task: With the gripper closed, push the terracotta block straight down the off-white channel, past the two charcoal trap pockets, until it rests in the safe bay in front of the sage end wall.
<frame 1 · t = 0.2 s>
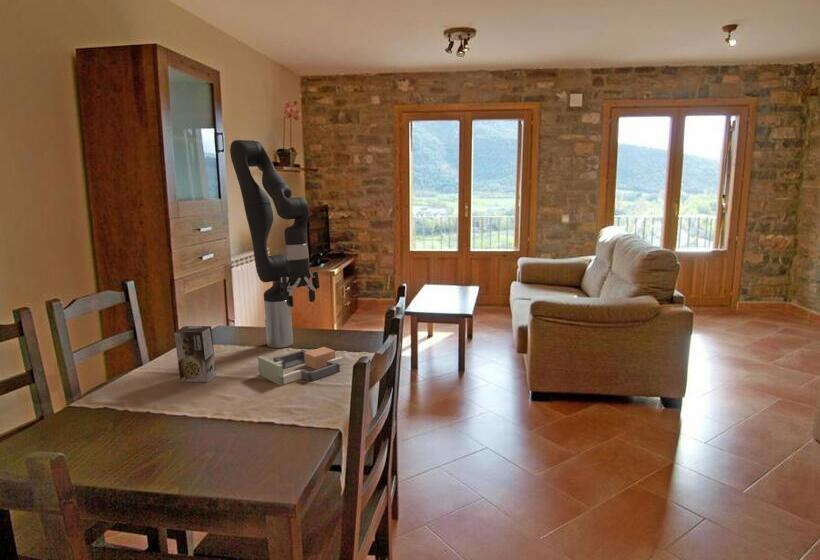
hand: (301, 304, 183), 18 cm above the table, tool pointing down, fingers open, 8 cm apart
coffee box: (198, 379, 165), on the table
terracotta block: (320, 364, 175), on the table
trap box: (304, 368, 171), on the table
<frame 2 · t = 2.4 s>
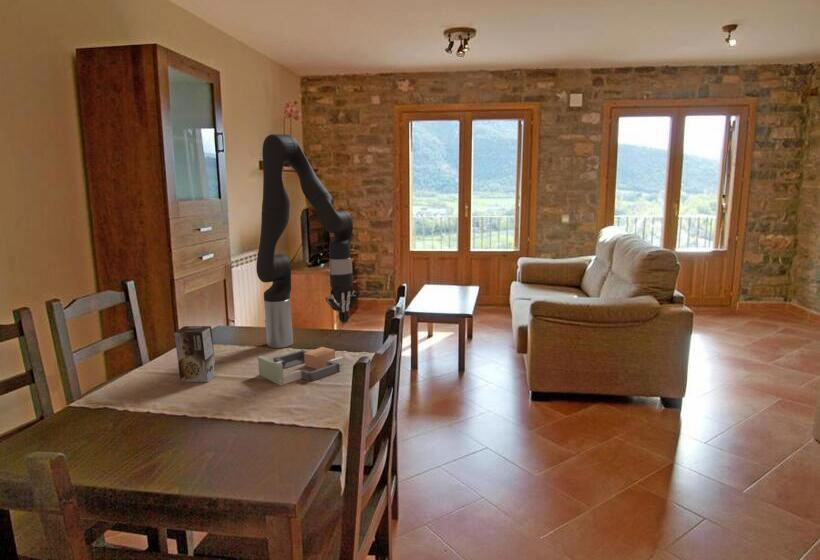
hand: (344, 321, 180), 12 cm above the table, tool pointing down, fingers closed
nothing on the table moved.
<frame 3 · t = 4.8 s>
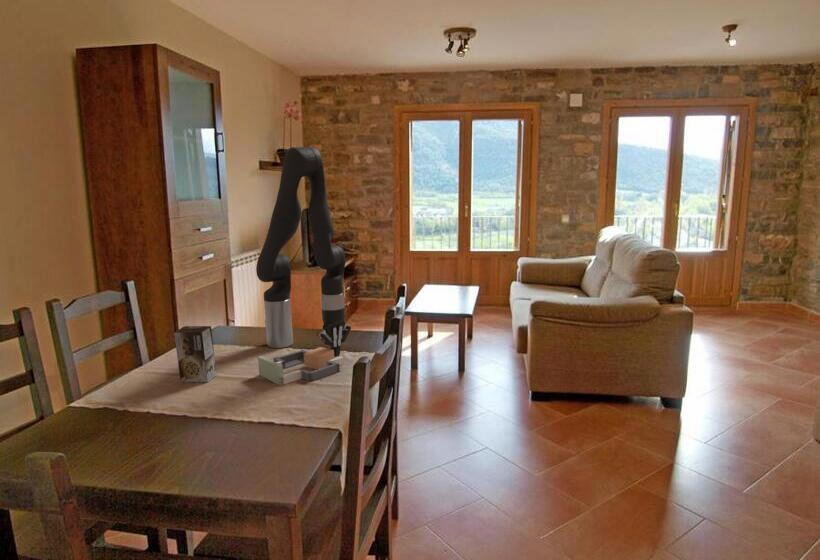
hand: (335, 356, 179), 1 cm above the table, tool pointing down, fingers closed
terracotta block: (319, 364, 175), on the table, touching gripper
everything else where it was.
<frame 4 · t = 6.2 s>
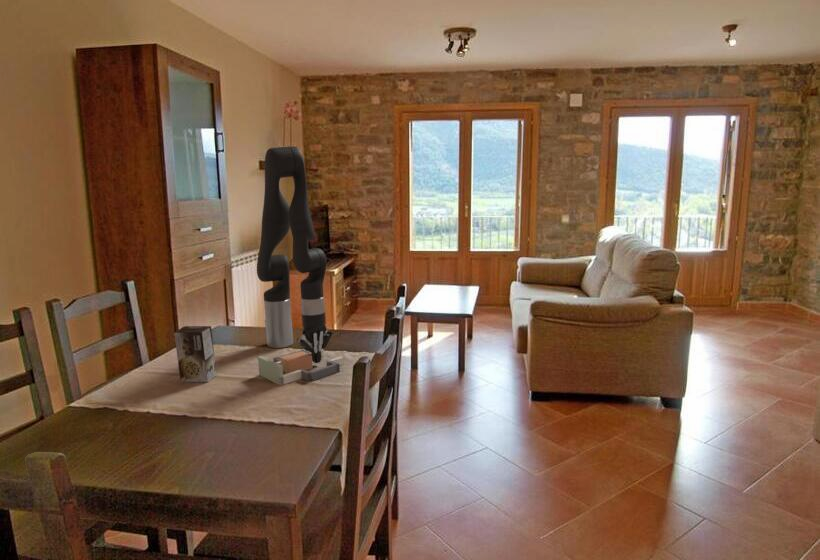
hand: (316, 362, 174), 1 cm above the table, tool pointing down, fingers closed
terracotta block: (297, 369, 171), on the table
everything else where it was.
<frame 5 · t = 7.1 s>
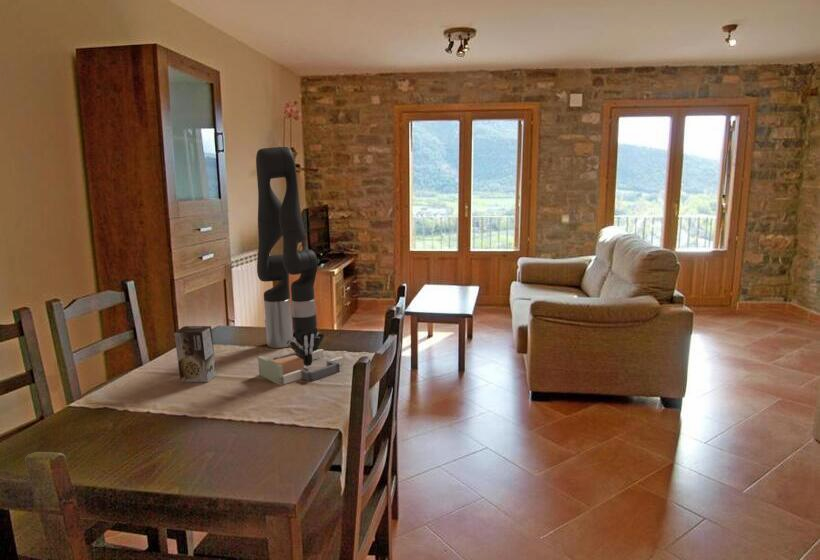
hand: (307, 365, 171), 1 cm above the table, tool pointing down, fingers closed
terracotta block: (288, 373, 169), on the table, touching gripper
everything else where it was.
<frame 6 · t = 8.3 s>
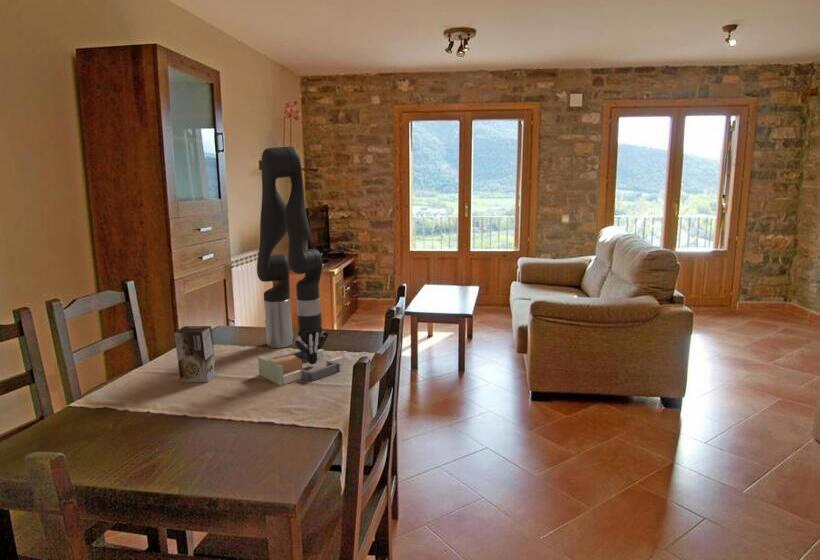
hand: (312, 363, 173), 1 cm above the table, tool pointing down, fingers closed
terracotta block: (286, 373, 168), on the table
everything else where it was.
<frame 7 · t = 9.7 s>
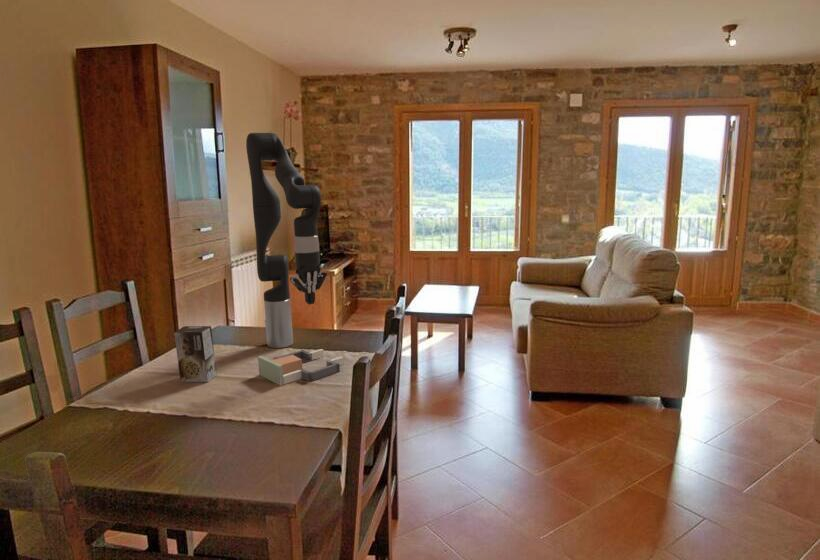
hand: (310, 303, 170), 21 cm above the table, tool pointing down, fingers closed
nothing on the table moved.
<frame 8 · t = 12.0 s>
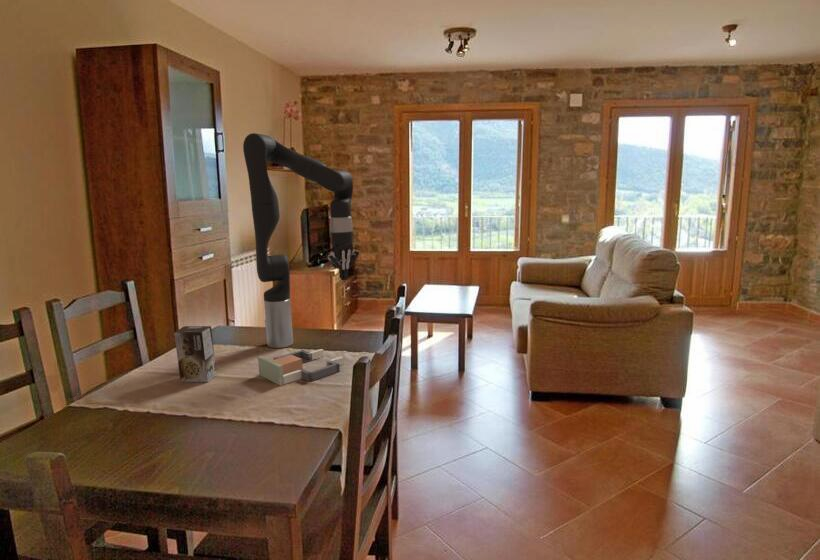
hand: (344, 279, 185), 25 cm above the table, tool pointing down, fingers closed
nothing on the table moved.
at the end: terracotta block 1.6 cm from the target spot, on the table; terracotta block tilted 0° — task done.
